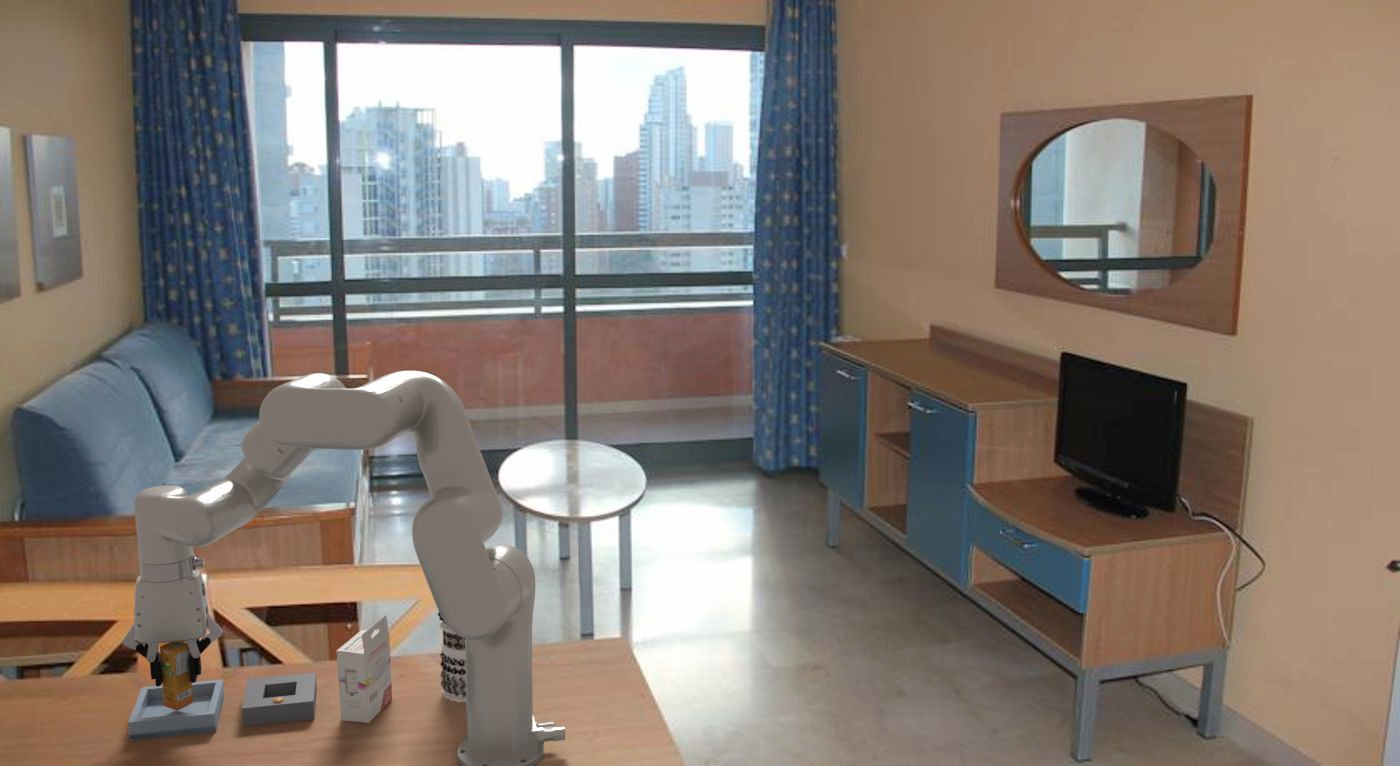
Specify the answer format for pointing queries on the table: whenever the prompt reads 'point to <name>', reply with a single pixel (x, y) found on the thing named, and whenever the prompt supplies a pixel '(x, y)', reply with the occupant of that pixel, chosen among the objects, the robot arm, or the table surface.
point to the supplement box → (176, 675)
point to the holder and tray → (260, 704)
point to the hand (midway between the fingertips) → (177, 679)
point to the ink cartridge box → (365, 673)
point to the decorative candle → (453, 664)
